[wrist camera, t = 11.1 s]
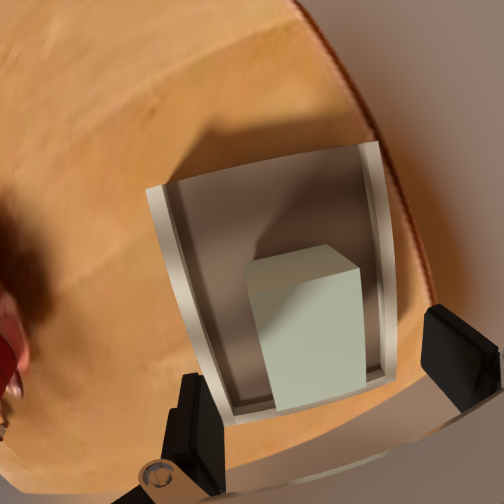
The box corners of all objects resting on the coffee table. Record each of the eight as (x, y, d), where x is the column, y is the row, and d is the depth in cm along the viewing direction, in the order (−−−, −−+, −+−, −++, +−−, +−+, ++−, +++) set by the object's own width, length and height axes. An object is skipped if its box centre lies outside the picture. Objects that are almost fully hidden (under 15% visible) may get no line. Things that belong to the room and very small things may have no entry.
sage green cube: (241, 258, 19) (246, 295, 13) (323, 240, 19) (361, 267, 13) (264, 353, 20) (275, 411, 15) (336, 335, 20) (367, 385, 15)
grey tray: (163, 186, 21) (145, 189, 16) (348, 147, 21) (377, 141, 16) (224, 388, 26) (224, 426, 21) (372, 350, 26) (395, 380, 21)
